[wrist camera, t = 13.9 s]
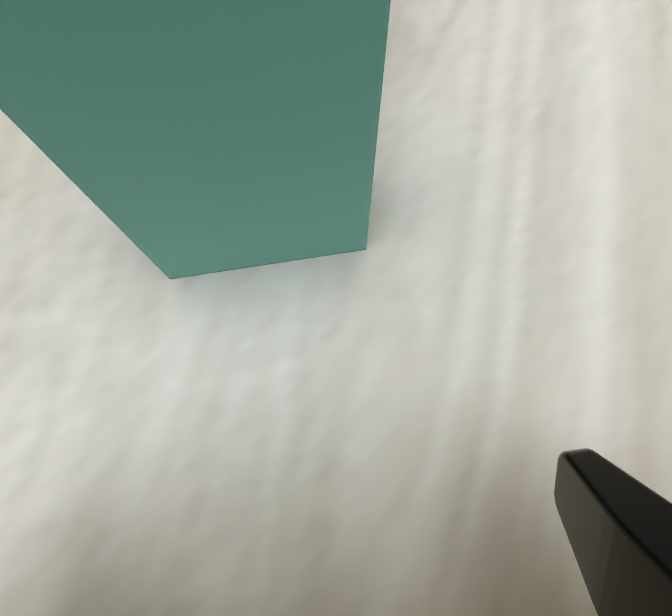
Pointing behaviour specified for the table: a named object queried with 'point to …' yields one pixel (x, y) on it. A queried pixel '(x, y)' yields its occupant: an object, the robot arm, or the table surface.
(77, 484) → the table surface
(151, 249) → the teal domino
